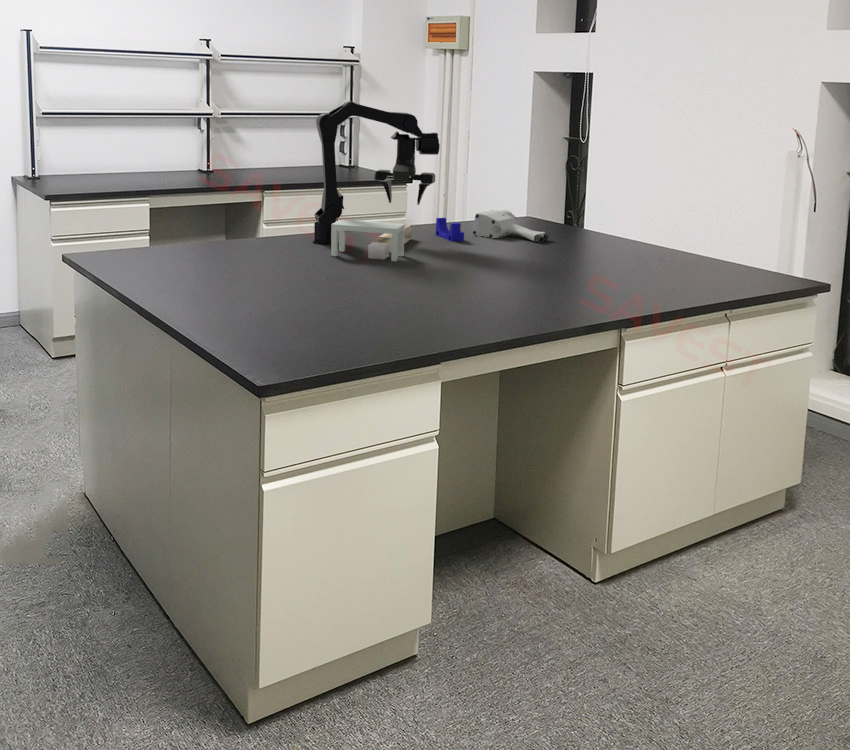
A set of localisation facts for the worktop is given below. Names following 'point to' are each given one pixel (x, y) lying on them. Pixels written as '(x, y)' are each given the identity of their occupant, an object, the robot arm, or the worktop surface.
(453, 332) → the worktop surface
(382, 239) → the batten
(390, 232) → the small white table
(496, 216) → the impact wrench
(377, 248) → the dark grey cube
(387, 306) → the worktop surface
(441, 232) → the cable clip
